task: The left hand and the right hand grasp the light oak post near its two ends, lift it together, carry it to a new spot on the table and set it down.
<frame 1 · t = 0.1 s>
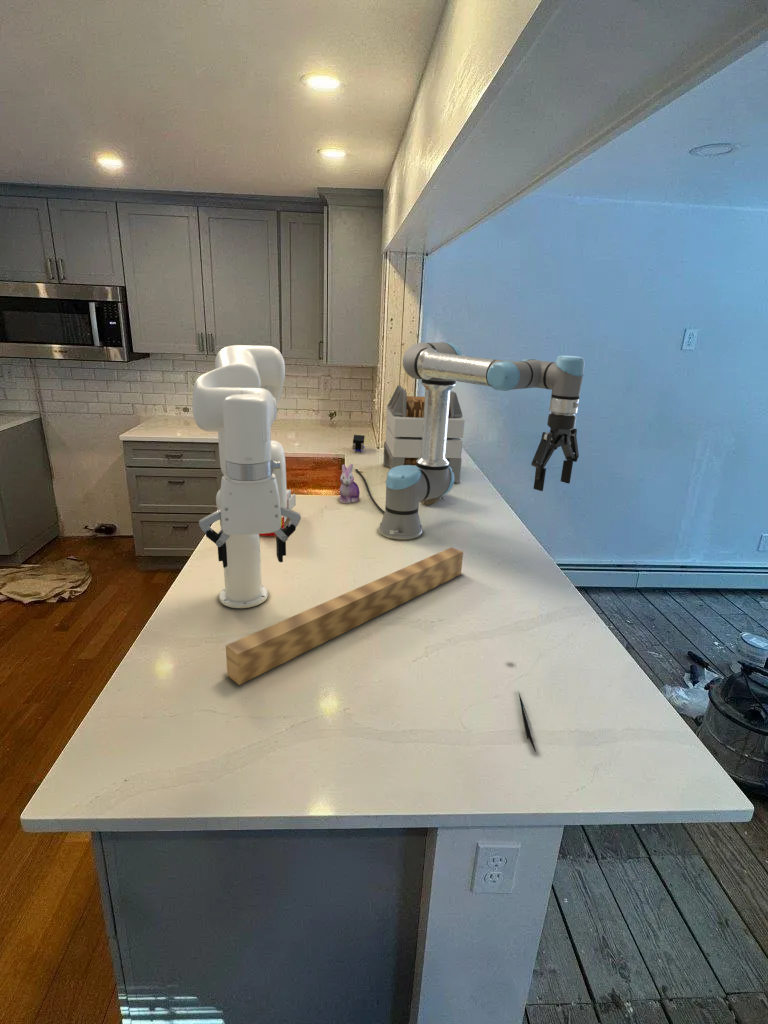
left hand: (252, 561, 101), 31 cm above the counter, tool pointing down, fingers open, 9 cm apart
right hand: (551, 486, 166), 28 cm above the counter, tool pointing down, fingers open, 13 cm apart
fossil: (433, 499, 239), on the counter
figurine: (349, 500, 232), on the counter
post: (364, 616, 146), on the counter
toy: (276, 522, 205), on the counter
figurine character: (358, 450, 313), on the counter
feather: (520, 704, 115), on the counter
white storage crate: (419, 473, 275), on the counter
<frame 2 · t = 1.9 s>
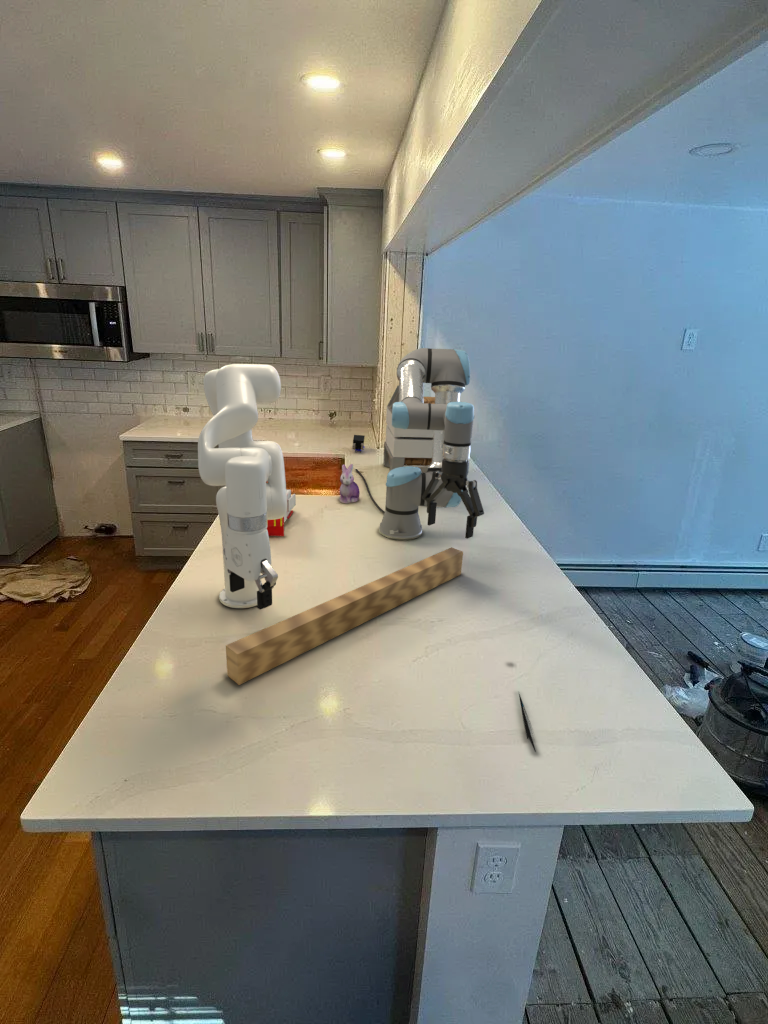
left hand: (250, 598, 116), 18 cm above the counter, tool pointing down, fingers open, 9 cm apart
right hand: (449, 530, 164), 15 cm above the counter, tool pointing down, fingers open, 13 cm apart
nothing on the counter moved.
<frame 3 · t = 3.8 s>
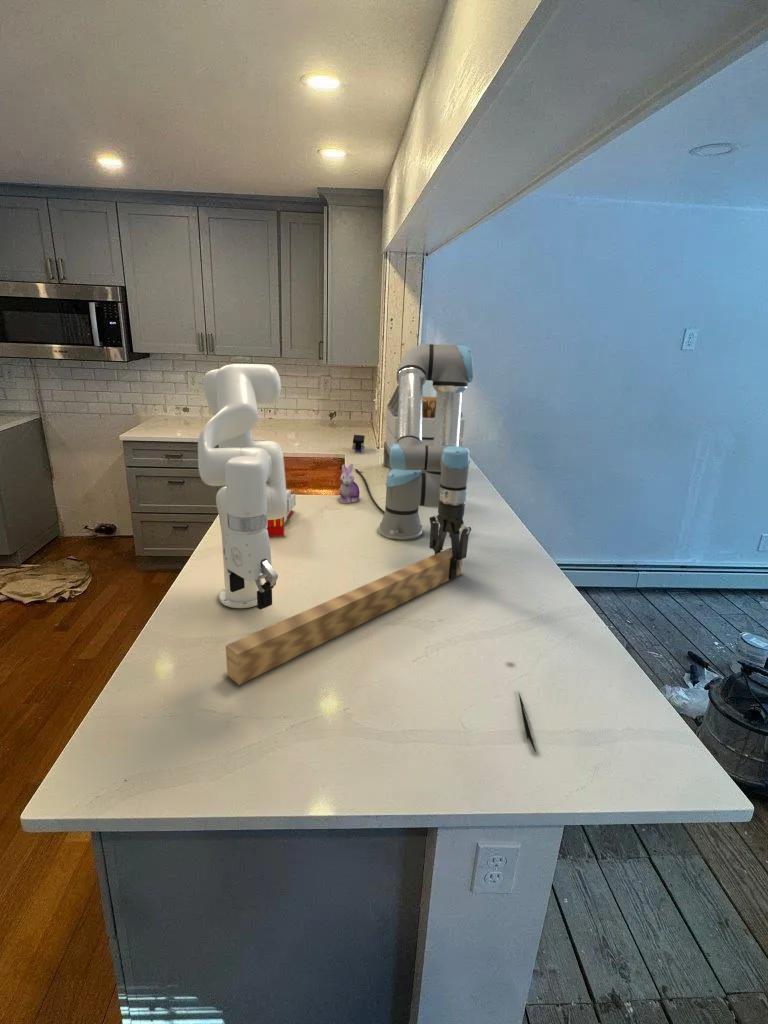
left hand: (250, 598, 116), 18 cm above the counter, tool pointing down, fingers open, 9 cm apart
right hand: (445, 575, 169), 1 cm above the counter, tool pointing down, fingers closed on post, 4 cm apart
post: (364, 616, 146), on the counter, touching right hand
everything else where it was.
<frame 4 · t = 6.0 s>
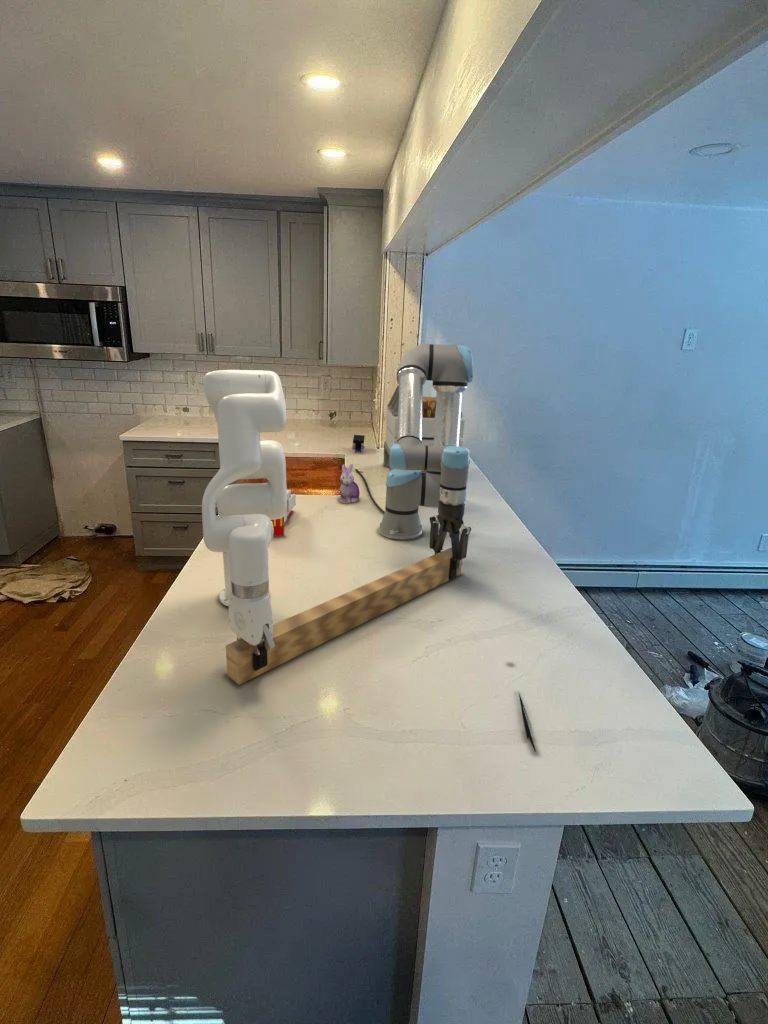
left hand: (253, 661, 122), 2 cm above the counter, tool pointing down, fingers closed on post, 4 cm apart
right hand: (445, 575, 169), 1 cm above the counter, tool pointing down, fingers closed on post, 4 cm apart
post: (364, 616, 146), on the counter, touching right hand, left hand
everything else where it was.
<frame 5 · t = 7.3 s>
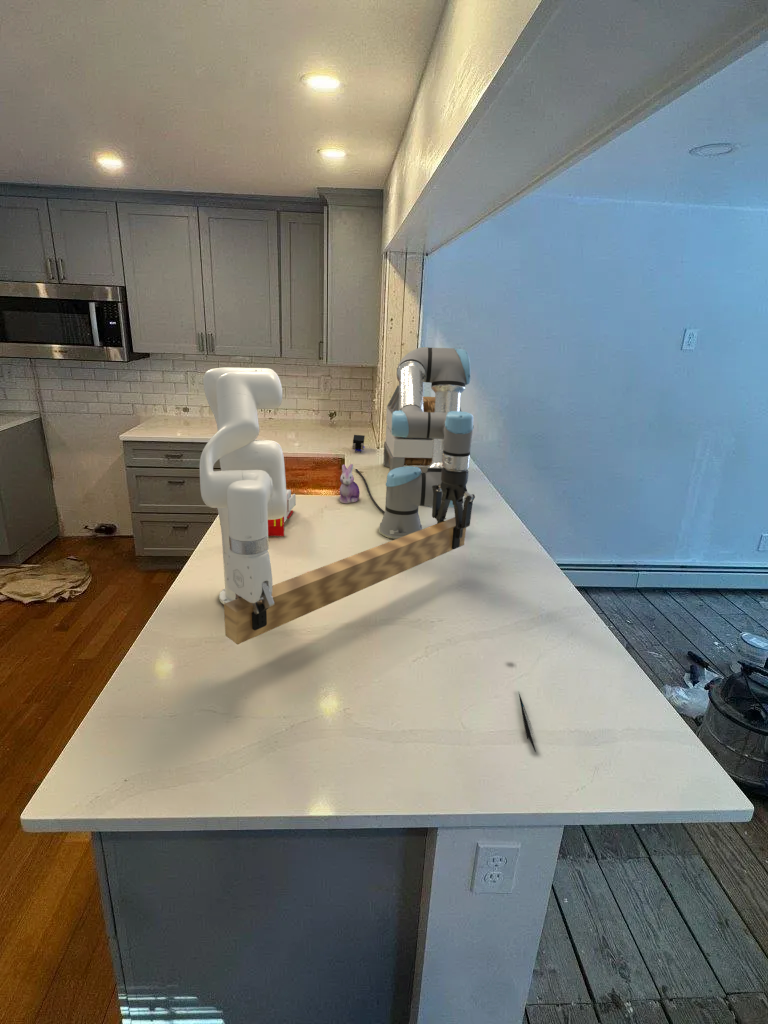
left hand: (252, 621, 119), 12 cm above the counter, tool pointing down, fingers closed on post, 4 cm apart
right hand: (448, 544, 166), 10 cm above the counter, tool pointing down, fingers closed on post, 4 cm apart
post: (366, 582, 143), point 10 cm above the counter, touching right hand, left hand
everything else where it was.
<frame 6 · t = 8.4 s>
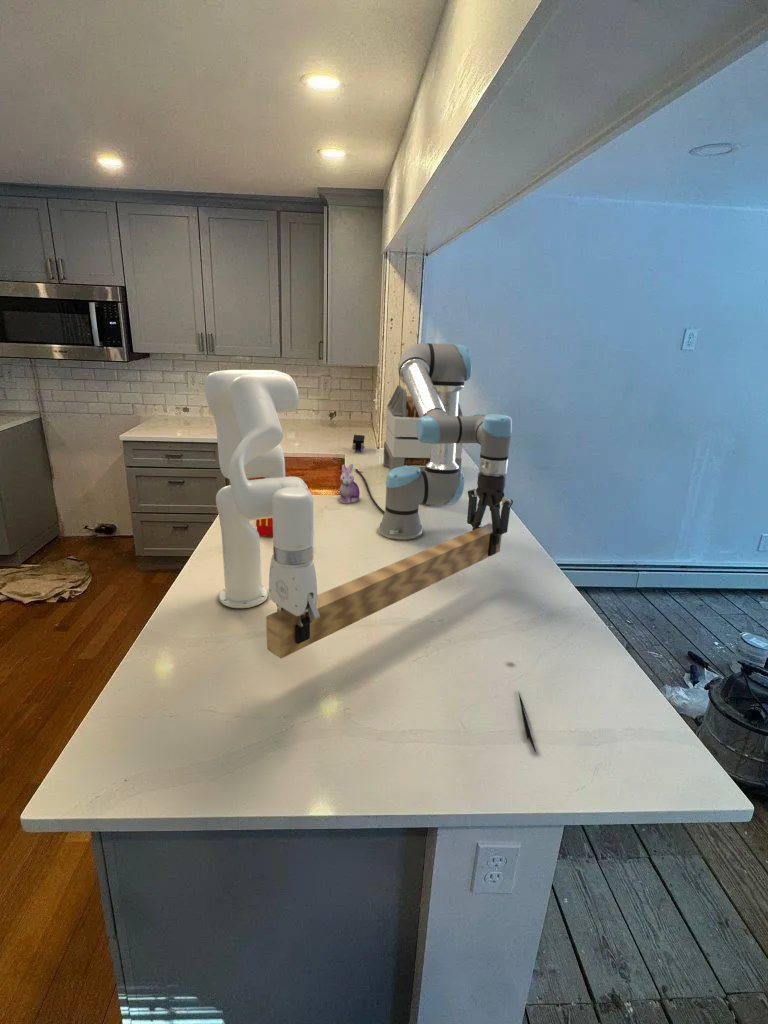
left hand: (294, 634, 114), 12 cm above the counter, tool pointing down, fingers closed on post, 4 cm apart
right hand: (484, 551, 161), 11 cm above the counter, tool pointing down, fingers closed on post, 4 cm apart
post: (405, 591, 138), point 10 cm above the counter, touching right hand, left hand
everything else where it was.
when the right hand's fingers open (2 cm above the counter, at t = 11.0 s): post stays where it is, on the counter.
when the left hand's fingers open (3 cm above the counter, at t = 11.1 s): post stays where it is, on the counter.
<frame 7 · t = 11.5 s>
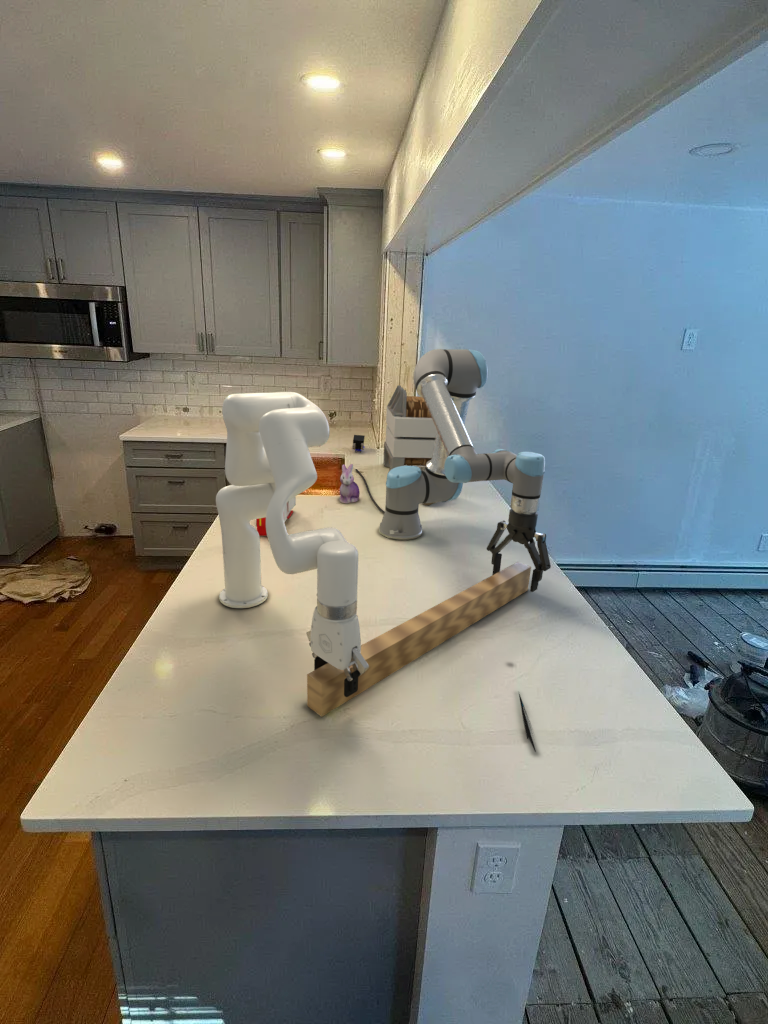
left hand: (335, 683, 113), 4 cm above the counter, tool pointing down, fingers open, 8 cm apart
right hand: (514, 582, 160), 3 cm above the counter, tool pointing down, fingers open, 11 cm apart
post: (437, 637, 138), on the counter
everything else where it was.
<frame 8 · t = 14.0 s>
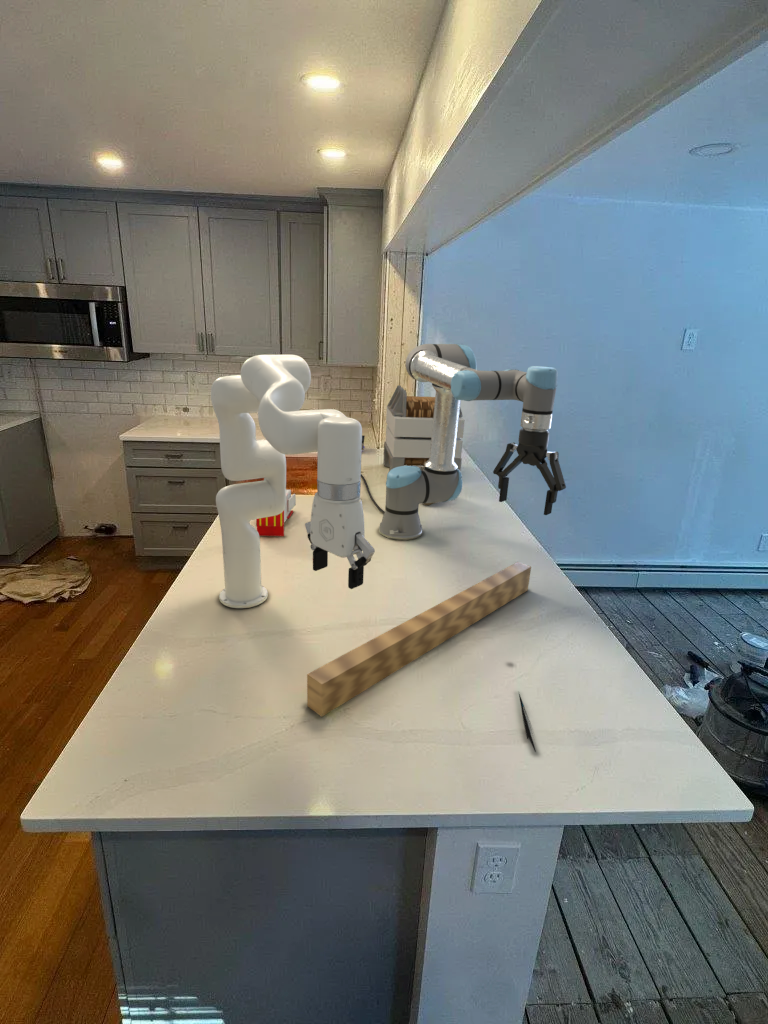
left hand: (337, 577, 105), 28 cm above the counter, tool pointing down, fingers open, 9 cm apart
right hand: (524, 507, 152), 26 cm above the counter, tool pointing down, fingers open, 13 cm apart
nothing on the counter moved.
at the end: post inside the target area (0.2 cm from its centre), on the counter; post tilted 0°; post never tilted more than 2° during the clip; both hands held the post at the same time; the left hand is holding nothing; the right hand is holding nothing; post at rest at the end (0.0 cm/s) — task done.
